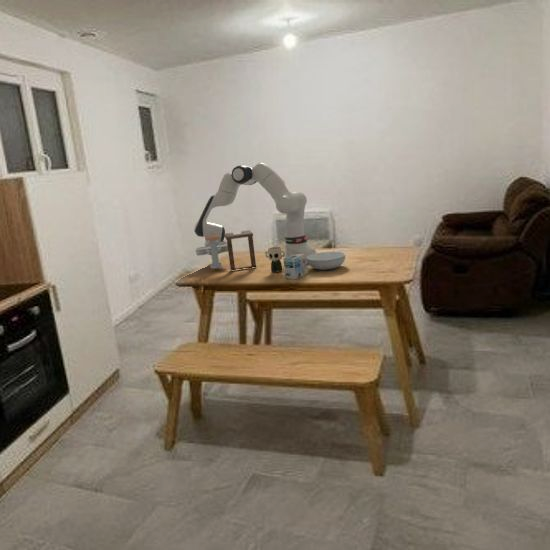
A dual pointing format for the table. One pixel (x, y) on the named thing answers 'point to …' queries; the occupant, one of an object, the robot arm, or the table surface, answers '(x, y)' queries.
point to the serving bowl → (326, 260)
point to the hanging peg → (214, 250)
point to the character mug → (275, 258)
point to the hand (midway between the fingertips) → (214, 251)
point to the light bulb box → (295, 266)
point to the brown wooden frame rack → (230, 250)
